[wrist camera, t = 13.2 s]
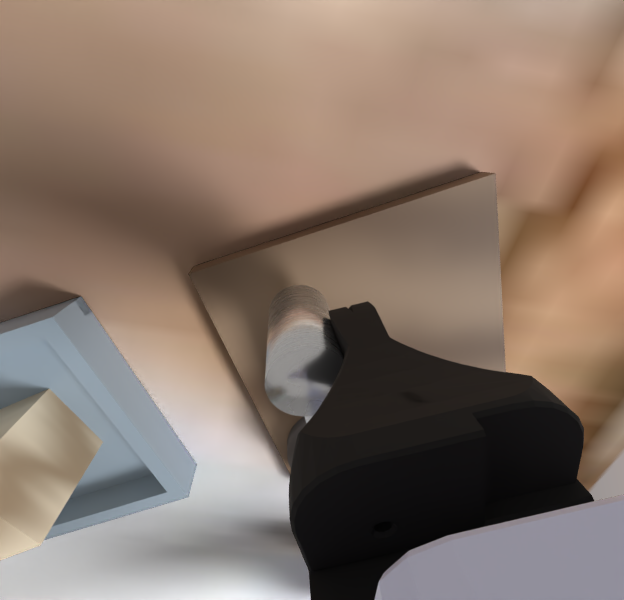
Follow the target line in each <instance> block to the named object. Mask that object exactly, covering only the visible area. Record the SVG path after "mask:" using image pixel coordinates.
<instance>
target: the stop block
mask: <svg viewBox="0 0 624 600" xmlns="http://www.w3.org/2000/svg"><path fill="white" fill-rule="evenodd" d="M102 443H103V441H102V440H101V439H100V438H99V437H98V436H97V435H96V434H95V433H94V432H93V431H92V430H91V429H90V428H89V427H88V426H87V425H86V424H85V423H84V422H83V421H82V420H81V419H80V418H79V417H78V416H77V415H76V414H75V413H74V412H73V411H72V410H70V409H69V408H68V407H67V406H66V405H65V404H64V403H63V402H62V401H61V400H60V399H59V398H58V397H57V396H56V395H55V394H54V393H53V392H52V391H51V390H50V389H47V390H44V391H42V392H40V393H37V394H35V395H33V396H30V397H28V398H26V399H23V400H21V401H18V402H16V403H14V404H11V405H9V406H7V407H4V408H2V409H0V560H3V559H6V558H8V557H11V556H14V555H16V554H19V553H21V552H24V551H27V550H29V549H32V548H35V547H37V546H40V545H41V544H42V542H43V541H44V539H45V537H46V536H47V534H48V532H49V531H50V529H51V527H52V526H53V524H54V522H55V521H56V519H57V518H58V516H59V514H60V513H61V511H62V509H63V508H64V506H65V504H66V503H67V501H68V499H69V498H70V496H71V494H72V493H73V491H74V489H75V488H76V486H77V484H78V483H79V481H80V480H81V478H82V476H83V475H84V473H85V471H86V470H87V468H88V466H89V465H90V463H91V461H92V460H93V458H94V456H95V455H96V453H97V451H98V450H99V448H100V446H101V445H102Z"/></svg>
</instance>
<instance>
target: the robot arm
mask: <svg viewBox="0 0 624 600" xmlns="http://www.w3.org/2000/svg"><path fill="white" fill-rule="evenodd" d="M328 312H329V316H330V320H331V324H332V327H333V330H334V334H335V336H336V339H337V341H338V343H339V346H340V348H341V351H342V353H343V355H344V360H343V363H342V365H341V368H340V371H339V373H338V375H337V377H336V379H335V382H334V384H333V386H332V387H331V389H330V391H329V393H328V394H327V396H326V397H325V399H324V401H323V402H322V404H321V405H320V407H319V408H318V410H317V411H316V413H315V414H314V415H313V416H312V418H311V419H310V420H309V421H308V423H307V424H306V425H305V426H304V428H303V429H302V430H301V431H300V432H299V433H298V436H297V440H296V444H295V449H294V454H293V459H292V465H291V473H290V483H289V511H290V522H291V527H292V532H293V534H294V536H295V539H296V541H297V544H298V546H299V548H300V551H301V553H302V555H303V558H304V560H305V562H306V565H307V567H308V570H309V579H310V593H311V600H624V494H623V495H619V496H615V497H610V498H606V499H602V500H598V501H594V499H593V497H592V495H591V494H590V493H589V492H588V491H587V490H586V489H585V487H584V486H583V485H582V484H581V483H580V482H579V481H578V480H577V479H576V478H577V474H578V469H579V464H580V459H581V454H582V449H583V443H584V428H583V426H582V424H581V421H580V419H579V417H578V416H577V415H576V414H575V413H574V412H572V411H571V410H570V409H569V408H568V407H567V406H566V405H565V404H564V403H563V402H562V401H561V400H559V399H558V398H557V397H556V396H555V395H554V394H553V393H552V392H551V391H550V390H548V389H547V388H546V387H545V386H543V385H542V384H541V383H540V382H538V381H537V380H536V379H534V378H533V377H532V376H528V375H521V374H515V373H508V372H501V371H494V370H487V369H482V368H478V367H473V366H469V365H464V364H460V363H456V362H452V361H448V360H445V359H442V358H439V357H436V356H433V355H429V354H426V353H424V352H421V351H418V350H416V349H414V348H411V347H409V346H407V345H404V344H402V343H400V342H398V341H396V340H394V339H392V338H390V337H389V335H388V333H387V331H386V329H385V327H384V325H383V323H382V320H381V318H380V316H379V314H378V312H377V310H376V308H375V307H374V306H373V305H372V304H371V303H370V302H368V301H367V302H363V303H359V304H355V305H351V306H350V307H349V308H347V307H342V308H338V309H334V310H330V311H328Z"/></svg>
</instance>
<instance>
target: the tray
mask: <svg viewBox="0 0 624 600" xmlns="http://www.w3.org/2000/svg"><path fill="white" fill-rule="evenodd" d="M47 389H50V390H51V391H52V392H53V393H54V394H55V395H56V396H57V397H58V398H59V399H60V400H61V401H62V402H63V403H64V404H65V405H66V406H67V407H68V408H69V409H70V410H72V411H73V412H74V413H75V414H76V415H77V416H78V417H79V418H80V419H81V420H82V421H83V422H84V423H85V424H86V425H87V426H88V427H89V428H90V429H91V430H92V431H93V432H94V433H95V434H96V435H97V436H98V437H99V438H100V439H101V440H102V441H103V443H102V445H101V446H100V448H99V450H98V451H97V453H96V455H95V456H94V458H93V460H92V461H91V463H90V465H89V466H88V468H87V470H86V471H85V473H84V475H83V476H82V478H81V480H80V481H79V483H78V484H77V486H76V488H75V489H74V491H73V493H72V494H71V496H70V498H69V499H68V501H67V503H66V504H65V506H64V508H63V509H62V511H61V513H60V514H59V516H58V518H57V519H56V521H55V522H54V524H53V526H52V527H51V529H50V531H49V532H48V534H47V536H46V537H45V539H44V540H46V539H49V538H53V537H56V536H59V535H63V534H66V533H69V532H73V531H76V530H79V529H83V528H86V527H89V526H93V525H96V524H100V523H103V522H106V521H110V520H113V519H116V518H120V517H123V516H126V515H130V514H133V513H137V512H140V511H143V510H147V509H150V508H153V507H157V506H160V505H163V504H167V503H170V502H173V501H177V500H180V499H184V498H187V497H188V496H189V493H190V489H191V485H192V481H193V477H194V473H195V470H196V466H197V464H196V463H195V461H194V460H193V458H192V457H191V455H190V454H189V453H188V451H187V450H186V448H185V447H184V445H183V444H182V442H181V441H180V439H179V438H178V437H177V435H176V434H175V432H174V431H173V429H172V428H171V426H170V425H169V423H168V422H167V420H166V419H165V418H164V416H163V415H162V413H161V412H160V410H159V409H158V407H157V406H156V404H155V403H154V402H153V400H152V399H151V397H150V396H149V394H148V393H147V391H146V390H145V388H144V387H143V386H142V384H141V383H140V381H139V380H138V378H137V377H136V375H135V374H134V372H133V371H132V370H131V368H130V367H129V365H128V364H127V362H126V361H125V359H124V358H123V356H122V355H121V354H120V352H119V351H118V349H117V348H116V346H115V345H114V343H113V342H112V340H111V339H110V337H109V336H108V335H107V333H106V332H105V330H104V329H103V327H102V326H101V324H100V323H99V321H98V320H97V319H96V317H95V316H94V314H93V313H92V311H91V310H90V308H89V307H88V305H87V304H86V303H85V301H84V300H83V298H82V297H81V296H80V297H77V298H74V299H71V300H68V301H65V302H62V303H59V304H56V305H53V306H50V307H47V308H44V309H41V310H38V311H35V312H32V313H29V314H26V315H23V316H20V317H17V318H14V319H11V320H7V321H4V322H1V323H0V409H2V408H4V407H7V406H9V405H11V404H14V403H16V402H18V401H21V400H23V399H26V398H28V397H30V396H33V395H35V394H37V393H40V392H42V391H44V390H47Z"/></svg>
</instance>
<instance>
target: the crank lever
mask: <svg viewBox="0 0 624 600" xmlns="http://www.w3.org/2000/svg"><path fill="white" fill-rule="evenodd" d="M328 311H330V310H329V306H328V303H327V301H326V299H325V297H324V296H323V295H322V294H321V293H320V292H319V291H318V290H316V289H315V288H313V287H310V286H306V285H293V286H290V287H287V288H285V289H283V290H281V291H280V292H279V293H278V294H277V295H276V296H275V297H274V298H273V300H272V302H271V304H270V308H269V320H268V336H267V353H266V369H265V391H266V394H267V396H268V398H269V400H270V401H271V402H272V404H273V405H274V406H276V407H277V408H278V409H280V410H281V411H283V412H285V413H288V414H291V415H295V416H305V420H306V424H307V423H308V421H309V420H310V419H311V418H312V416H313V415H314V414H315V413H316V411H317V410H318V408H319V407H320V405H321V404H322V402H323V401H324V399H325V397H326V396H327V394H328V393H329V391H330V389H331V387H332V386H333V384H334V382H335V379H336V377H337V375H338V373H339V371H340V368H341V365H342V363H343V360H344V355H343V353H342V351H341V348H340V346H339V343H338V341H337V339H336V336H335V334H334V330H333V327H332V324H331V320H330V316H329V312H328Z"/></svg>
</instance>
